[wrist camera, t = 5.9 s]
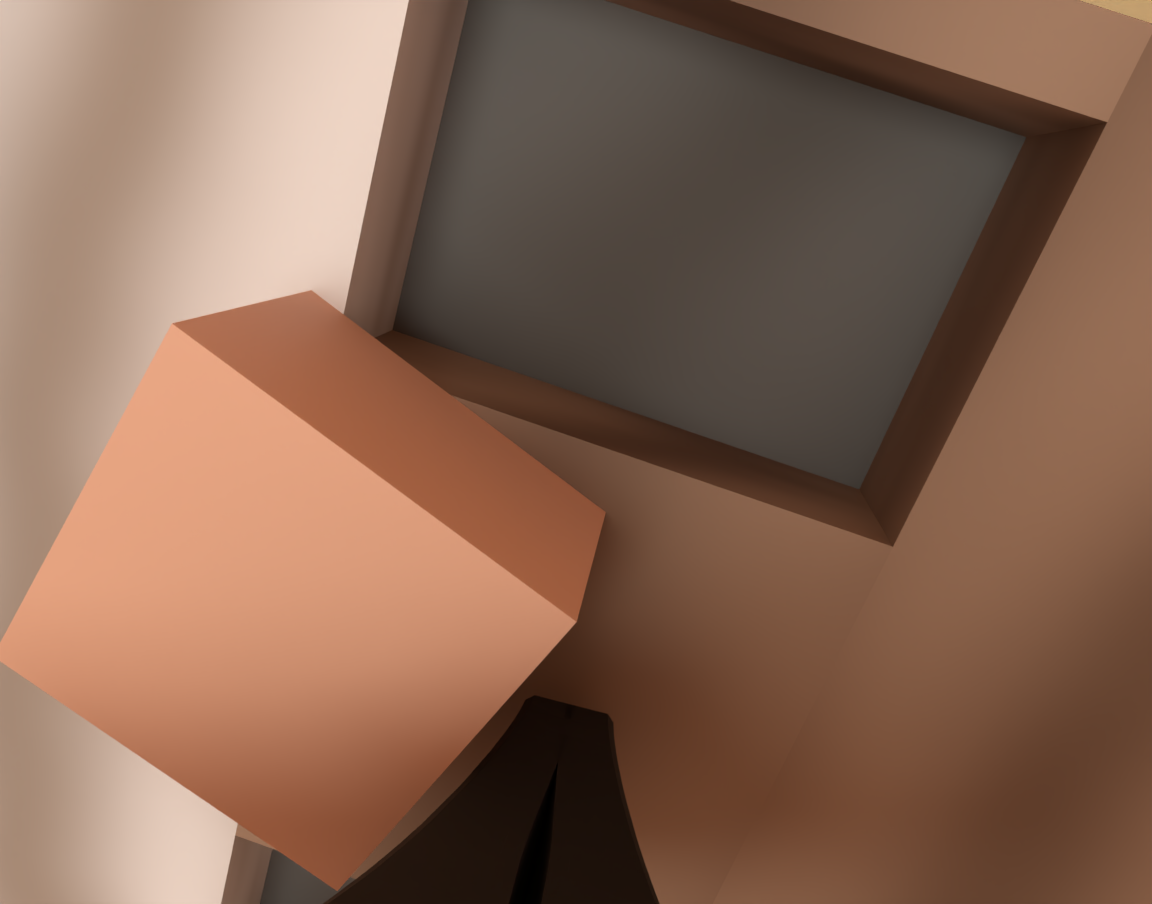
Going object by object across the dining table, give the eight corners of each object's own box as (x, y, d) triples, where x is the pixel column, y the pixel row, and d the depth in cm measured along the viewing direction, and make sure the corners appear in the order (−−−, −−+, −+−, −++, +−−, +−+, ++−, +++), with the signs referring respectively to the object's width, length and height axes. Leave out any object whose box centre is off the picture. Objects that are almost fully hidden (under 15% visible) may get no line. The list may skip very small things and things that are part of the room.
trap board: (1704, 273, 10) (2218, 309, 7) (950, 1216, 18) (1015, 1465, 14) (39, -263, 11) (-257, -473, 8) (-25, 855, 18) (-191, 1007, 15)
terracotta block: (605, 512, 11) (576, 621, 8) (416, 734, 13) (336, 891, 10) (311, 290, 10) (171, 323, 8) (155, 549, 12) (-8, 656, 9)
